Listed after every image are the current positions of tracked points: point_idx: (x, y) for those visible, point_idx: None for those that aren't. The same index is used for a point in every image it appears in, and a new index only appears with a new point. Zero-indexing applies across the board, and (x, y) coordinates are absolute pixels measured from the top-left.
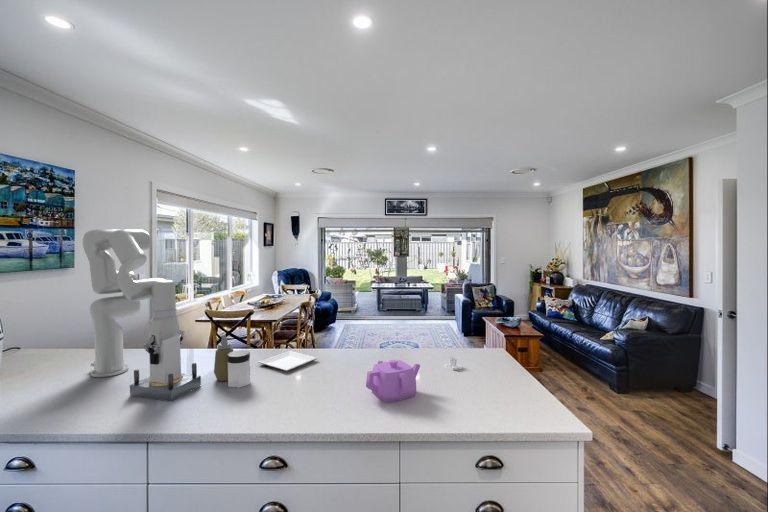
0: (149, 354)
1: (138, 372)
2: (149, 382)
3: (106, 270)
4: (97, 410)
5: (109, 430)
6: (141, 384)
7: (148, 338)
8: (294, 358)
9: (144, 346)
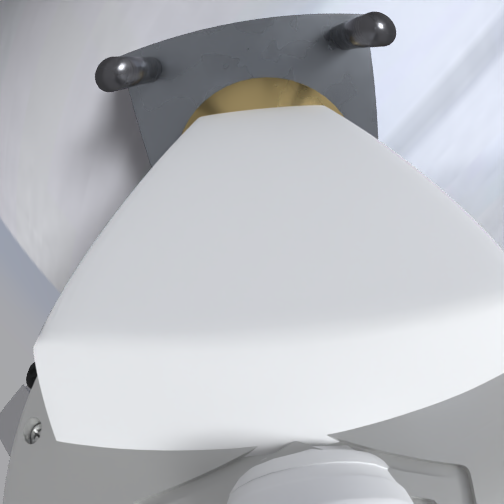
0: (133, 194)
1: (124, 87)
2: (192, 121)
3: None
4: (29, 105)
5: (36, 265)
6: (156, 102)
7: (14, 465)
8: None
9: (12, 411)
